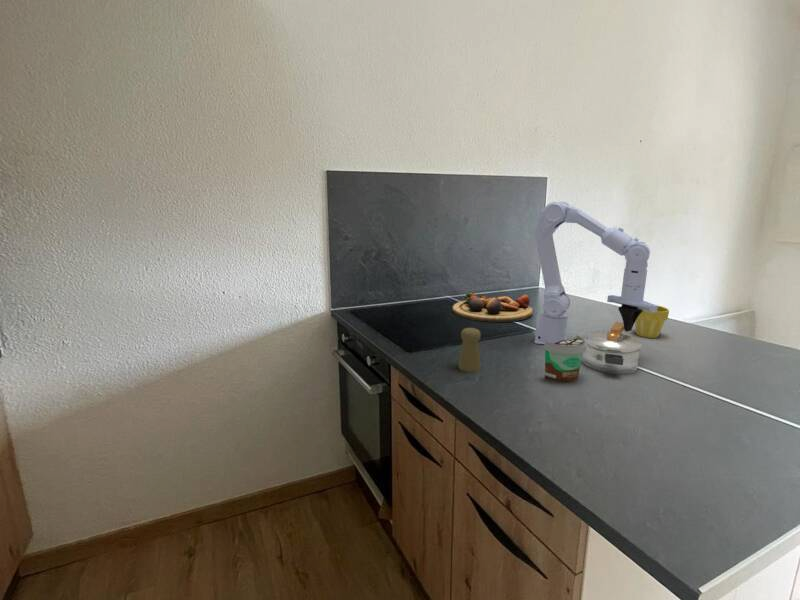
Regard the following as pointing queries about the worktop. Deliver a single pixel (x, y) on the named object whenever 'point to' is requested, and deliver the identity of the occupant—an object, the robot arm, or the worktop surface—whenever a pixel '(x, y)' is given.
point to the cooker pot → (610, 360)
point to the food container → (564, 359)
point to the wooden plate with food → (493, 308)
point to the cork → (470, 350)
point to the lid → (613, 340)
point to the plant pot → (651, 322)
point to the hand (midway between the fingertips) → (627, 330)
